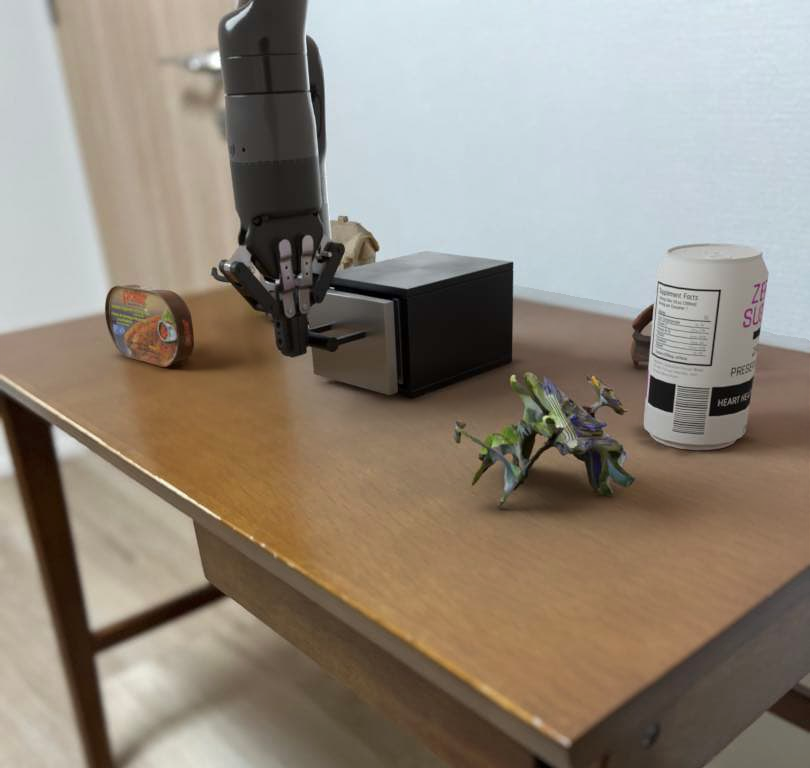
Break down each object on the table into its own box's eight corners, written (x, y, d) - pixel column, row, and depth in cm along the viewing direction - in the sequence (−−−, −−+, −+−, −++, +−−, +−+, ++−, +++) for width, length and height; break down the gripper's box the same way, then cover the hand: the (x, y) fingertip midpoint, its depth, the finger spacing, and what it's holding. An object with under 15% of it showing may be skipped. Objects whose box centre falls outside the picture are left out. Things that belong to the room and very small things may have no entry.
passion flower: (591, 557, 67) (681, 466, 58) (466, 565, 63) (541, 469, 53) (544, 438, 72) (620, 337, 63) (425, 438, 68) (488, 330, 58)
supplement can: (633, 419, 78) (648, 244, 71) (728, 417, 77) (751, 240, 71) (653, 454, 71) (672, 263, 64) (757, 451, 70) (787, 258, 63)
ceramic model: (291, 285, 137) (284, 218, 133) (340, 273, 145) (335, 208, 140) (357, 295, 129) (351, 223, 124) (406, 281, 136) (403, 213, 132)
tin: (110, 352, 106) (95, 282, 103) (132, 347, 108) (119, 277, 105) (181, 373, 97) (168, 296, 93) (204, 367, 99) (192, 291, 95)
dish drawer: (351, 409, 81) (344, 313, 77) (276, 386, 89) (266, 298, 84) (487, 360, 93) (486, 275, 89) (411, 343, 100) (407, 264, 96)
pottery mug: (746, 382, 87) (721, 317, 82) (654, 420, 91) (625, 359, 86) (721, 322, 96) (697, 260, 91) (638, 359, 99) (610, 300, 95)
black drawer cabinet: (412, 399, 86) (407, 289, 81) (328, 376, 94) (319, 274, 89) (512, 362, 95) (513, 261, 90) (428, 343, 103) (425, 250, 98)
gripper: (234, 161, 68) (260, 379, 76) (361, 147, 76) (372, 345, 84) (182, 159, 72) (212, 363, 81) (306, 146, 81) (322, 333, 89)
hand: (294, 354), depth 82 cm, fingers closed
